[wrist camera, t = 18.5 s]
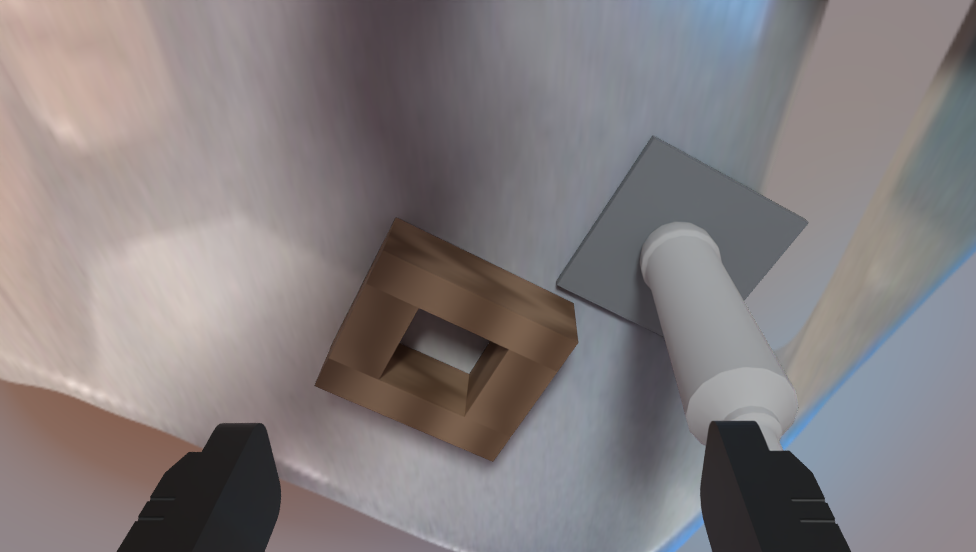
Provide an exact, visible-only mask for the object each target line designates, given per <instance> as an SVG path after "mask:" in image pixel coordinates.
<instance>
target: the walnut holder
mask: <svg viewBox="0 0 976 552" xmlns="http://www.w3.org/2000/svg"><path fill="white" fill-rule="evenodd" d="M419 308H420V309H422V310H424V311H427V312H429V313H431V314H433V315H435V316H437V317H440V318H442V319H444V320H446V321H448V322H450V323H453V324H455V325H457V326H459V327H461V328H463V329H466V330H468V331H470V332H472V333H474V334H476V335H479V336H481V337H483V338H485V339H487V340H490V342H489V344H488V346H487V347H486V349H485V350H484V352H483V353H482V355H481V357H480V358H479V360H478V361H477V363H476V364H475V366H474V368H473V369H472V371H471V372H470V374H468V373H465V372H463V371H461V370H459V369H456V368H454V367H452V366H450V365H447V364H445V363H443V362H441V361H439V360H436V359H434V358H432V357H430V356H427V355H425V354H423V353H421V352H418V351H416V350H414V349H412V348H409V347H407V346H405V345H403V344H401V343H399V342H400V341H401V339H402V337H403V335H404V334H405V332H406V330H407V328H408V326H409V325H410V323H411V321H412V319H413V317H414V316H415V314H416V312H417V310H418V309H419ZM577 344H578V336H577V327H576V319H575V310H574V303H572V302H570V301H568V300H566V299H564V298H562V297H560V296H557V295H555V294H553V293H551V292H549V291H547V290H545V289H543V288H541V287H539V286H537V285H535V284H533V283H531V282H529V281H526V280H524V279H522V278H520V277H518V276H516V275H514V274H512V273H510V272H508V271H506V270H504V269H502V268H500V267H498V266H495V265H493V264H491V263H489V262H487V261H485V260H483V259H481V258H479V257H477V256H475V255H473V254H471V253H469V252H467V251H464V250H462V249H460V248H458V247H456V246H454V245H452V244H450V243H448V242H446V241H444V240H442V239H440V238H438V237H436V236H433V235H431V234H429V233H427V232H425V231H423V230H421V229H419V228H417V227H415V226H413V225H411V224H409V223H407V222H405V221H403V220H400V219H398V218H395V220H394V222H393V224H392V226H391V228H390V230H389V232H388V234H387V236H386V238H385V240H384V242H383V244H382V246H381V248H380V250H379V252H378V254H377V256H376V258H375V260H374V262H373V264H372V266H371V268H370V270H369V272H368V274H367V276H366V278H365V280H364V282H363V284H362V286H361V288H360V290H359V292H358V294H357V296H356V298H355V299H354V301H353V303H352V305H351V307H350V309H349V311H348V313H347V315H346V317H345V319H344V321H343V323H342V325H341V327H340V329H339V331H338V333H337V335H336V337H335V339H334V341H333V343H332V345H331V348H330V350H329V352H328V355H327V357H326V359H325V362H324V364H323V367H322V369H321V371H320V374H319V376H318V379H317V381H316V383H315V386H316V387H318V388H320V389H323V390H325V391H328V392H330V393H332V394H335V395H337V396H339V397H342V398H344V399H346V400H349V401H351V402H353V403H356V404H358V405H360V406H363V407H365V408H368V409H370V410H372V411H375V412H377V413H379V414H382V415H384V416H386V417H389V418H391V419H393V420H396V421H398V422H401V423H403V424H405V425H408V426H410V427H412V428H415V429H417V430H419V431H422V432H424V433H426V434H429V435H431V436H433V437H436V438H438V439H441V440H443V441H445V442H448V443H450V444H452V445H455V446H457V447H459V448H462V449H464V450H466V451H469V452H471V453H473V454H476V455H478V456H481V457H483V458H485V459H488V460H490V461H492V462H493V461H494V460H495V458H496V457H497V455H498V454H499V453H500V451H501V450H502V449H503V447H504V446H505V444H506V443H507V442H508V440H509V439H510V437H511V436H512V435H513V433H514V432H515V430H516V429H517V428H518V426H519V425H520V423H521V422H522V421H523V419H524V418H525V416H526V415H527V414H528V412H529V411H530V409H531V408H532V407H533V405H534V404H535V402H536V401H537V400H538V398H539V397H540V395H541V394H542V393H543V391H544V390H545V388H546V387H547V386H548V384H549V383H550V381H551V380H552V379H553V377H554V376H555V374H556V373H557V372H558V370H559V369H560V368H561V366H562V365H563V363H564V362H565V361H566V359H567V358H568V356H569V355H570V354H571V352H572V351H573V349H574V348H575V347H576V345H577Z"/></svg>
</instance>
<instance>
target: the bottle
mask: <svg viewBox="0 0 976 552" xmlns="http://www.w3.org/2000/svg"><path fill="white" fill-rule="evenodd" d="M640 267H641V271H642V275H643V278H644V282H645V283H646V284H647V285H648V286H649V288H650V289H651V291H652V294H653V298H654V302H655V305H656V309H657V313H658V316H659V320H660V324H661V327H662V331H663V335H664V338H665V342H666V346H667V349H668V353H669V357H670V360H671V364H672V368H673V371H674V375H675V379H676V382H677V386H678V390H679V393H680V397H681V401H682V404H683V408H684V412H685V415H686V419H687V422H688V426H689V430H690V432H691V433H692V434H693V435H694V436H695V437H696V438H697V439H698V441H699V442H700V443H701V444H703V445H705V446H706V442H707V435H708V428H709V424H710V422H711V421H756V422H757V423H758V425H759V427H760V429H761V431H762V434H763V436H764V438H765V440H766V443H767V445H768V447H769V450H770V451H783V449H782V446H781V444H780V442H779V441H780V438H781V436H782V435H783V434H784V433H785V432H786V431H787V430H788V429H789V428H790V427H791V425H792V424H793V422H794V419H795V416H796V413H797V411H798V408H799V407H798V401H797V395H796V390H795V389H794V387H793V385H792V383H791V382H790V380H789V378H788V377H787V375H786V373H785V371H784V370H783V368H782V366H781V364H780V363H779V361H778V359H777V357H776V356H775V354H774V352H773V351H772V349H771V347H770V345H769V344H768V342H767V340H766V338H765V337H764V335H763V333H762V331H761V330H760V328H759V326H758V325H757V323H756V321H755V319H754V318H753V316H752V314H751V312H750V311H749V309H748V307H747V306H746V304H745V302H744V300H743V299H742V297H741V295H740V293H739V292H738V290H737V288H736V286H735V285H734V283H733V281H732V280H731V278H730V276H729V274H728V273H727V271H726V269H725V267H724V266H723V264H722V261H721V256H720V252H719V248H718V246H717V244H716V243H715V242H714V240H713V239H712V238H711V237H710V235H709V234H708V233H707V232H706V231H705V230H704V229H702V228H700V227H698V226H696V225H694V224H692V223H689V222H672V223H669V224H665V225H662V226H660V227H659V228H657V229H656V230H655V231H653V232H652V233H650V235H649V236H648V238H647V239H646V241H645V242H644V244H643V246H642V250H641V256H640Z"/></svg>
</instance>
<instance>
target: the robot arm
mask: <svg viewBox="0 0 976 552" xmlns="http://www.w3.org/2000/svg"><path fill="white" fill-rule="evenodd" d="M150 498H151V499H150V501H148V502H147V503H146V505H145V506H144V508H143V510H142V511H141V513H140V514H139V516H138V517H139V519H138V521H135V523H134V524H133V526H132V527H131V529H130V531H129V532H128V534H127V536H126V537H125V539H124V540H123V542H122V544H121V545H120V547H119V549H118V550H117V552H265V549H266V547H267V544H268V542H269V539H270V536H271V534H272V531H273V529H274V526H275V523H276V521H277V518H278V515H279V510H280V503H281V488H280V481H279V477H278V473H277V469H276V465H275V461H274V457H273V453H272V449H271V445H270V441H269V437H268V433H267V430H266V428H265V426H264V425H263V424H262V423H221V424H219V425H218V426H217V427H216V428H215V430H214V431H213V433H212V435H211V436H210V438H209V440H208V442H207V443H206V445H205V447H204V449H203V450H202V452H188V453H187V454H186V455H185V456H184V457H183V458H181V459H180V460H179V461H178V462H177V463H176V464H175V465H173V466H172V467H171V468H170V469H169V470H168V471H167V472H165V474H164V475H163V477H162V479H161V480H160V482H159V483H158V485H157V487H156V488H155V490H154V492H153V493H152V495H151V496H150ZM700 498H701V509H702V515H703V520H704V524H705V527H706V531H707V534H708V538H709V542H710V545H711V548H712V552H851V551H850V548H849V546H848V544H847V542H846V540H845V538H844V536H843V534H842V532H841V530H840V528H839V526H838V524H835V518H834V516H833V514H832V512H831V510H830V508H829V506H828V503H825V498H824V495H823V494H822V491H821V489H820V487H819V485H818V483H817V481H816V479H815V477H814V475H813V473H812V472H811V471H810V470H809V469H808V468H807V467H806V466H805V465H804V464H803V463H802V462H800V460H799V459H797V458H796V457H795V456H794V455H793V454H792V453H791V452H790V451H770V450H769V447H768V445H767V443H766V440H765V438H764V436H763V434H762V431H761V429H760V427H759V425H758V423H757V422H756V421H711V422H710V424H709V428H708V435H707V442H706V449H705V456H704V463H703V471H702V478H701V487H700Z"/></svg>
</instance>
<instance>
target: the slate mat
mask: <svg viewBox="0 0 976 552" xmlns="http://www.w3.org/2000/svg"><path fill="white" fill-rule="evenodd" d="M672 222H689V223H692V224H694V225H696V226H698V227H700V228H702V229H704V230H705V231H706V232H707V233H708V234H709V235H710V237H711V238H712V239H713V240H714V242H715V243H716V244H717V246H718V248H719V252H720V256H721V261H722V264H723V266H724V267H725V269H726V271H727V273H728V274H729V276H730V278H731V280H732V281H733V283H734V285H735V286H736V288H737V290H738V292H739V293H740V295H741V297H742V299H743V300H745V299H746V298H747V297H748V296H749V294H750V293H751V292H752V291H753V289H754V288H755V287H756V286H757V285H758V283H759V282H760V281H761V280H762V279H763V277H764V276H765V275H766V274H767V273H768V271H769V270H770V269H771V268H772V266H773V265H774V264H775V263H776V262H777V261H778V259H779V258H780V257H781V256H782V254H783V253H784V252H785V251H786V250H787V248H788V247H789V246H790V245H791V243H792V242H793V241H794V240H795V239H796V238H797V236H798V235H799V234H800V233H801V232H802V230H803V229H804V228H805V227H806V226H807V224H808V221H807V220H806V219H804V218H803V217H801V216H799V215H797V214H795V213H793V212H792V211H790V210H788V209H786V208H784V207H783V206H781V205H779V204H777V203H775V202H773V201H772V200H770V199H768V198H766V197H764V196H763V195H761V194H759V193H757V192H755V191H753V190H752V189H750V188H748V187H746V186H744V185H742V184H741V183H739V182H737V181H735V180H733V179H732V178H730V177H728V176H726V175H724V174H722V173H721V172H719V171H717V170H715V169H713V168H712V167H710V166H708V165H706V164H704V163H702V162H701V161H699V160H697V159H695V158H693V157H691V156H690V155H688V154H686V153H684V152H682V151H681V150H679V149H677V148H675V147H673V146H671V145H670V144H668V143H666V142H664V141H662V140H661V139H659V138H657V137H655V136H652V137H651V139H650V140H649V142H648V143H647V145H646V146H645V148H644V149H643V151H642V152H641V154H640V155H639V157H638V158H637V160H636V161H635V163H634V165H633V166H632V168H631V169H630V171H629V172H628V174H627V175H626V177H625V178H624V180H623V181H622V183H621V184H620V186H619V187H618V189H617V190H616V192H615V193H614V195H613V196H612V198H611V199H610V201H609V202H608V204H607V205H606V207H605V208H604V210H603V211H602V213H601V214H600V216H599V217H598V219H597V220H596V222H595V223H594V225H593V226H592V228H591V229H590V231H589V233H588V234H587V236H586V237H585V239H584V240H583V242H582V243H581V245H580V246H579V248H578V249H577V251H576V252H575V254H574V255H573V257H572V258H571V260H570V261H569V263H568V264H567V266H566V267H565V269H564V270H563V272H562V273H561V275H560V276H559V278H558V279H557V285H558V286H560V287H562V288H564V289H566V290H568V291H570V292H572V293H574V294H576V295H578V296H580V297H582V298H584V299H587V300H589V301H591V302H593V303H595V304H597V305H599V306H601V307H603V308H605V309H607V310H609V311H611V312H613V313H615V314H617V315H619V316H621V317H623V318H626V319H628V320H630V321H632V322H634V323H636V324H638V325H640V326H642V327H644V328H646V329H648V330H650V331H652V332H654V333H656V334H658V335H660V336H662V337H664V335H663V331H662V327H661V324H660V320H659V316H658V313H657V309H656V305H655V302H654V298H653V294H652V291H651V289H650V288H649V286H648V285H647V284H646V283H645V282H644V278H643V275H642V271H641V267H640V256H641V250H642V246H643V244H644V242H645V241H646V239H647V238H648V236H649V235H650V233H652V232H653V231H655V230H656V229H657V228H659V227H660V226H662V225H665V224H669V223H672Z"/></svg>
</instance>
